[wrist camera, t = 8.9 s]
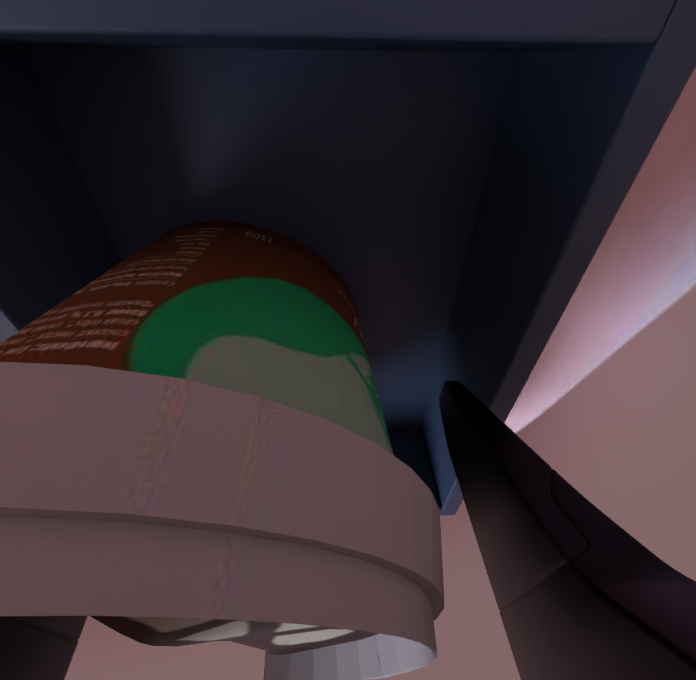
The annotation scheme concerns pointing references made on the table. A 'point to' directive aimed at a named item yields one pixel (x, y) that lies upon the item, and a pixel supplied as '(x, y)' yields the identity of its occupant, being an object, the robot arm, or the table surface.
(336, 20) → the tote
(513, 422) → the table surface
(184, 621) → the food container
